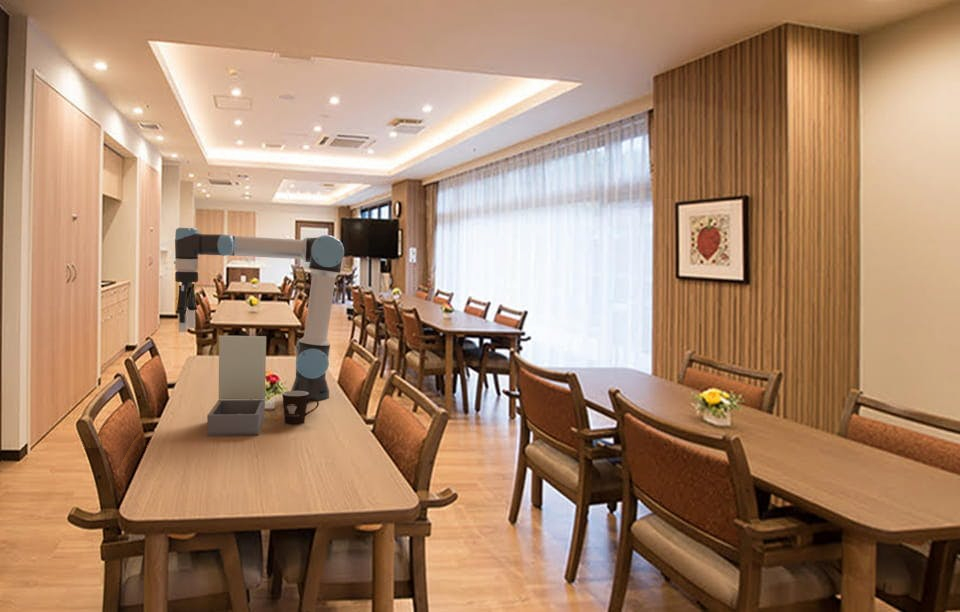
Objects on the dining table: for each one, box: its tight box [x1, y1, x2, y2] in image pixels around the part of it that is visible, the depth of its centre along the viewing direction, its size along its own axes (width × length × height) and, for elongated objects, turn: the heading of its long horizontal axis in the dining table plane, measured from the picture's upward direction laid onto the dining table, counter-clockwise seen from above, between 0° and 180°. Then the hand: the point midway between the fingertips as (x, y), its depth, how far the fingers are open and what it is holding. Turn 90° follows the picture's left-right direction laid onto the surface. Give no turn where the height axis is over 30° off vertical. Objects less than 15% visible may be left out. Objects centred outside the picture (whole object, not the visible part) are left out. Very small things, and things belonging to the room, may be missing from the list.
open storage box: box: [206, 399, 266, 437], centre depth 217 cm, size 15×22×6 cm
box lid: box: [218, 335, 267, 401], centre depth 226 cm, size 15×22×1 cm
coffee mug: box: [281, 390, 320, 426], centre depth 225 cm, size 12×9×10 cm
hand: (187, 329), depth 240 cm, fingers open, 13 cm apart
